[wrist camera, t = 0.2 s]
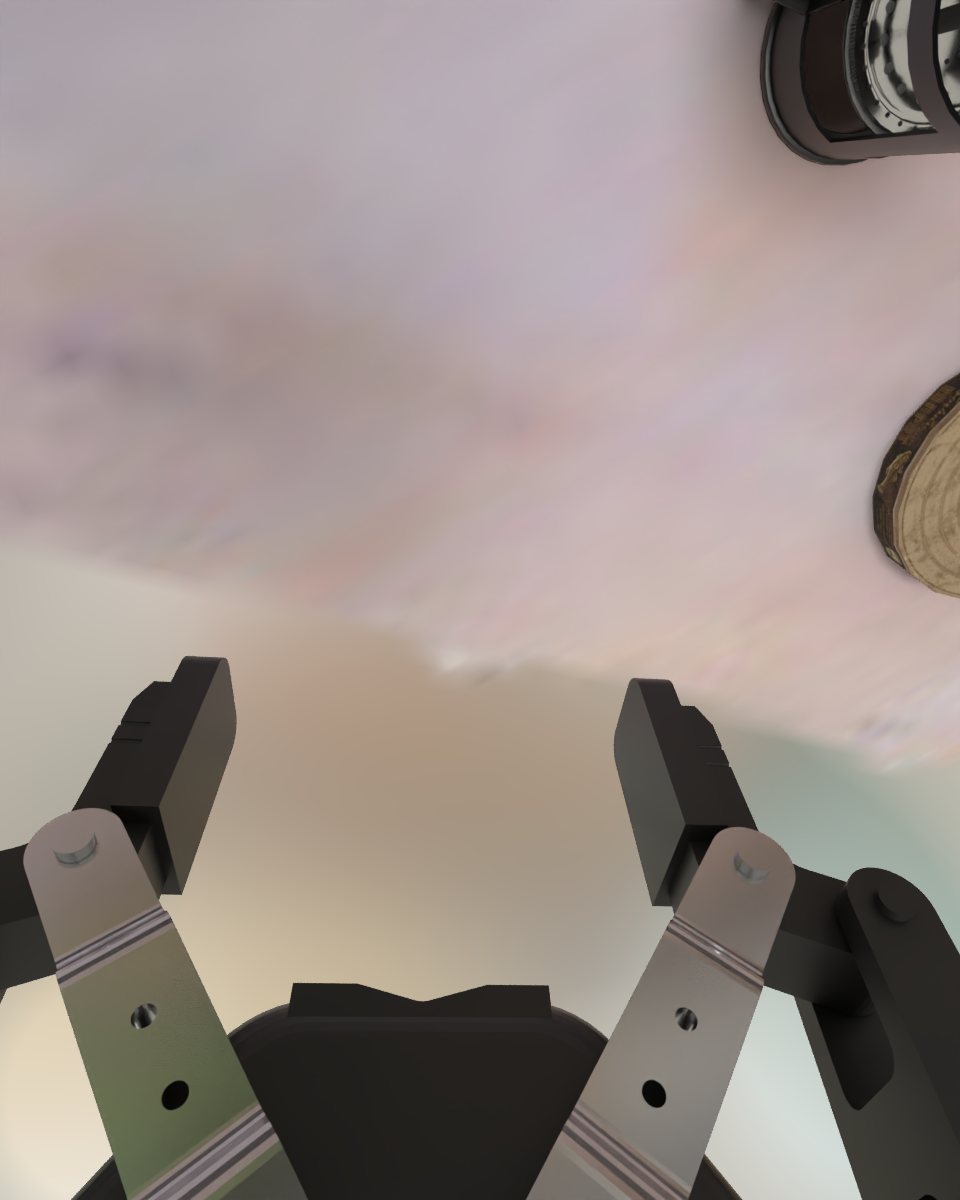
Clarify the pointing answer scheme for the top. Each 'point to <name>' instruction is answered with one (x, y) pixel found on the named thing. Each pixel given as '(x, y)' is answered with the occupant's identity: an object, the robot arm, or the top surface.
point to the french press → (870, 79)
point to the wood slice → (924, 493)
